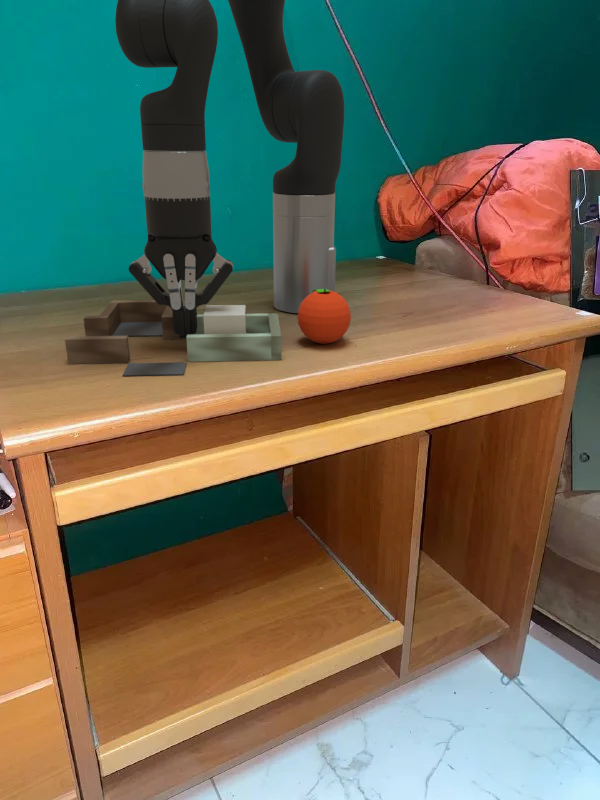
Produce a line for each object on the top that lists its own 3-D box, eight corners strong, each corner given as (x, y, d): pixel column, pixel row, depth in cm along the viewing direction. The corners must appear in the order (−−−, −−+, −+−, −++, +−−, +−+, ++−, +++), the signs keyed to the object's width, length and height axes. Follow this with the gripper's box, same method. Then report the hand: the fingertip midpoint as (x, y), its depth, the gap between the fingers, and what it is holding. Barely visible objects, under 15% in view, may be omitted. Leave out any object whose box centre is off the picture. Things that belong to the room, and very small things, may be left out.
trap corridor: (274, 318, 93) (274, 298, 92) (283, 373, 72) (283, 348, 71) (101, 321, 91) (98, 300, 90) (57, 377, 70) (53, 352, 69)
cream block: (246, 342, 83) (245, 304, 81) (245, 354, 78) (244, 315, 76) (208, 342, 82) (206, 305, 80) (205, 355, 78) (203, 315, 76)
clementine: (286, 335, 86) (286, 283, 83) (333, 330, 88) (334, 279, 85) (309, 353, 79) (310, 297, 76) (359, 347, 81) (361, 292, 78)
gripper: (235, 190, 77) (239, 328, 84) (125, 190, 76) (137, 329, 83) (233, 196, 70) (238, 345, 77) (112, 195, 69) (127, 346, 76)
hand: (186, 336), depth 80 cm, fingers closed
